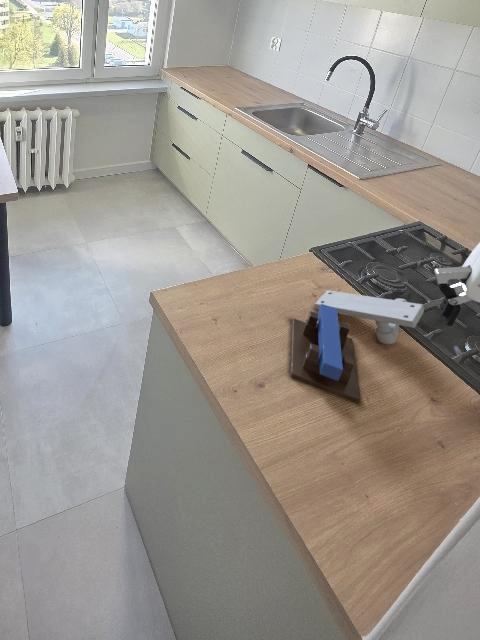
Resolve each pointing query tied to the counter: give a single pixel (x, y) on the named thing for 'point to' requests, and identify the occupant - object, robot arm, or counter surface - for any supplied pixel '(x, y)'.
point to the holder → (308, 358)
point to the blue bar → (329, 343)
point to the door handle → (375, 311)
